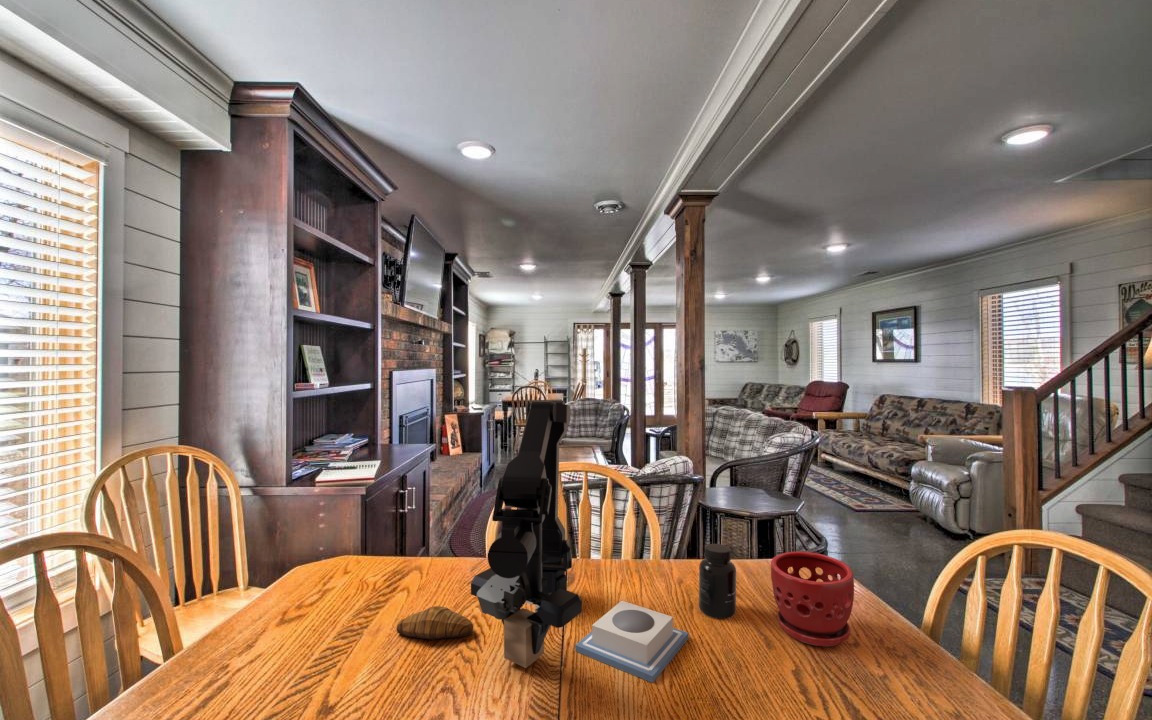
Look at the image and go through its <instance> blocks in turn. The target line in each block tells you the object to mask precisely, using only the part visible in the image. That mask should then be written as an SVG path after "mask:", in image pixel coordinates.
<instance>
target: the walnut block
mask: <svg viewBox="0 0 1152 720" xmlns="http://www.w3.org/2000/svg"><path fill="white" fill-rule="evenodd" d="M533 613H535V611H532V610H529V609H527V608H524V607H521V608H520V610H519V611H518V612H517V613H514V614H513V615H511V616H510V617H508V618H506V619H505V620H504V625H503V658H504V659H505V660H506V661H507V660H508V661H509V662H512V663H514V664H516V665H518V666H520V667H523V668H524V669H527V668H528V667H529V666H531V665H532V664H533V663H534V662H536V661H537V660H538V659H539V658H541V657H542V656H543V655H544V654H545V640H544V641H543V644H542V646H541V648H540V651H539V652H538V653H537V654H533V649H532V624H531V623H530V622H529V621H528V620H527V619H526V618H527V617H529V616H530V615H532V614H533Z"/></svg>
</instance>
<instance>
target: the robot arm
mask: <svg viewBox="0 0 1152 720" xmlns="http://www.w3.org/2000/svg"><path fill="white" fill-rule="evenodd" d="M525 407H526V408H525V425H524V429H523V433H522V437H521V442H520V446H519V448H518V452H517V455H516V456H515V457H514V458H512V459H511V460H510V461H509V462H508V463H507V464H506V466H505V469H504V472H503V474H502V476H501V477H499V480H498V483H497V488H496V494H495V501H494V506H493V507H494V508H493V512H492V518H491V519H492V522H502V523H501V530H500V533H498V536H497V537H496V538H495V539H494V541H493V542H492V543H491V545H490V546H489V549H488V552H487V563H488V566H489V568H488V569H485V570H484V571H481V572H480V573H478V574H475V575H474V576H473V578H472V580H471V581H470V595H471V596H475V597H477V600H478V604H479V607H480V610H481V613H482V614H484V615H488V616H491V617H494V618H495V619H496V620H501V622H502V625H503V626H504V620H505V619H506V618H508V617H510V616H511V615H513V614H514V613H517V612H518V611H519V610H520V609H522V608H523V606H524V605H525V604H526V603H527V604H529V605H531V606H533V605H535V606H534V607H535V609H534V612H535V613H533V614H532V615H530V616H529V617H527V618H526V619H527V620H528V621H529V622H530V623H531V624H532V649H533V654H537V653H538V652H539V651H540V648H541V646H542V644H543V641H544V642H545V639H546V637H547V633H548V632H549V629H550V627H553V628H557V629H558V628H563V627H565V626H566V625H567V624H569V623H570V622H571V621H573V620H574V619H576V618H577V617H578V616H579V615H580V614H582V612H583V602H582V601H583V600H582V597H581V596H580V595H579V594H578V593H576V592H572V591H569V590H567V581H568V580H567V575H566V572H568V570H570V569H572V567H573V556H572V549H571V547H570V545H569V541H568V539H566V528H565V527H564V524H563V522H561V519H560V517H559V481H560V479H559V476H560V471H559V470H560V466H559V465H560V443H561V442H562V440H563V439H564V437H565V436H566V433H567V432H568V424H570V423H571V406H570V405H568V404H566V402H565V400H532V401H529V402H528V403H526V406H525ZM503 505H504V507H505V508H503ZM512 508H515V509H512Z"/></svg>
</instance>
